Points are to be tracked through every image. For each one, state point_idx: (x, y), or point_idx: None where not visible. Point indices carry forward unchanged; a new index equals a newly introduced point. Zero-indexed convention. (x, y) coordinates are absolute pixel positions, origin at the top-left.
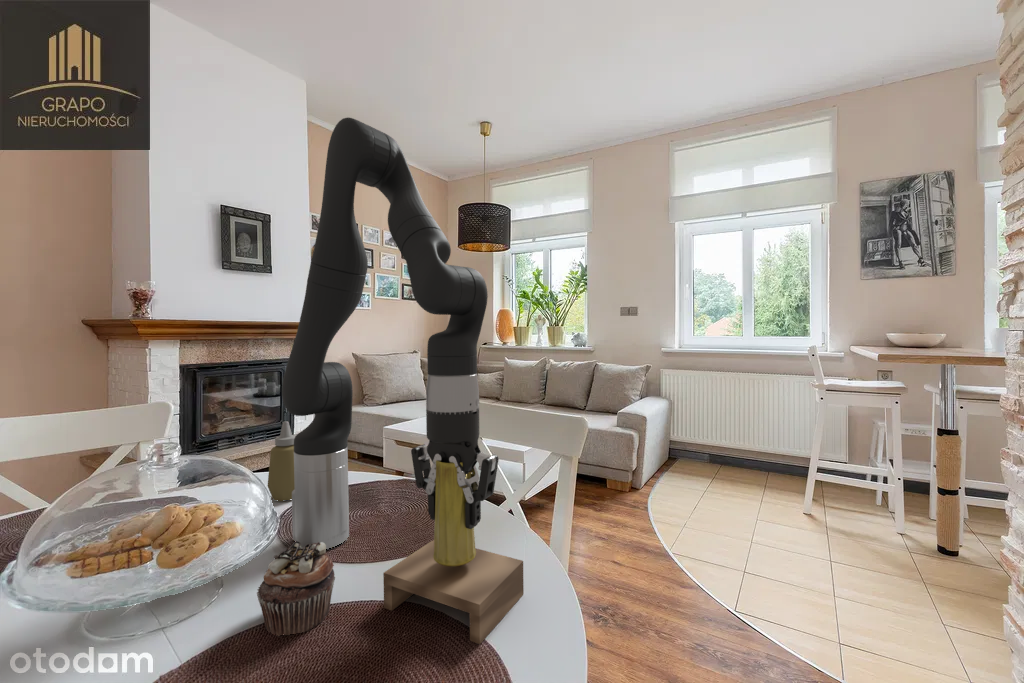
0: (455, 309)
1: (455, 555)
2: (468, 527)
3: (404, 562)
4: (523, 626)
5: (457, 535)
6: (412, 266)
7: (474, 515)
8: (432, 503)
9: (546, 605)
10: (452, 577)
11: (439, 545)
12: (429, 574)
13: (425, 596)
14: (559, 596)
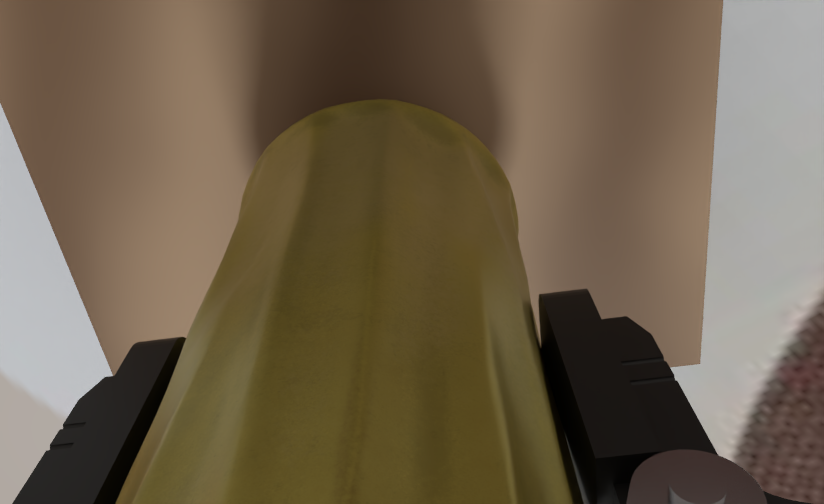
0: None
1: (264, 170)
2: (149, 342)
3: (686, 56)
4: (25, 172)
5: (227, 249)
6: None
7: (60, 443)
8: (591, 387)
9: (63, 323)
10: (300, 109)
11: (378, 146)
12: (440, 50)
13: None
14: (70, 391)
